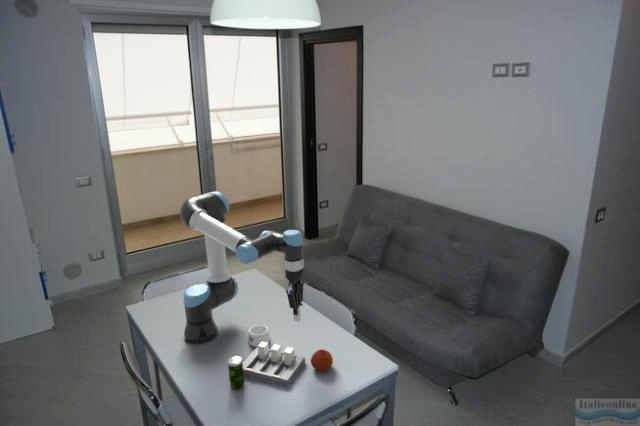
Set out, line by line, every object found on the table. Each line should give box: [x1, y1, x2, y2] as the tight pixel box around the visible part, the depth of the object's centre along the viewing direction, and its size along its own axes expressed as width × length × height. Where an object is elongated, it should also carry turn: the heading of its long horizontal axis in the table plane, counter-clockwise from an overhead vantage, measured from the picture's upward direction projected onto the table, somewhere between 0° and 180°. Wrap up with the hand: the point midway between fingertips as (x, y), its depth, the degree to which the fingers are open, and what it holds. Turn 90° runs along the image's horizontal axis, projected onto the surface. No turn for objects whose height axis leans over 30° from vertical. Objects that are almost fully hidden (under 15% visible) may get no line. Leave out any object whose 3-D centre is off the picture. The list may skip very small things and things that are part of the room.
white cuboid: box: [270, 343, 283, 363], centre depth 187 cm, size 3×4×6 cm
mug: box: [247, 324, 271, 348], centre depth 204 cm, size 12×10×6 cm
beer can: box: [227, 355, 245, 392], centre depth 173 cm, size 5×5×12 cm
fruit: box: [310, 348, 334, 372], centre depth 182 cm, size 9×9×8 cm
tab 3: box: [283, 346, 296, 366], centre depth 184 cm, size 3×4×6 cm
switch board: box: [242, 347, 306, 387], centre depth 184 cm, size 22×16×3 cm
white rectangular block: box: [258, 341, 270, 360], centre depth 189 cm, size 3×4×6 cm
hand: (297, 320), depth 188 cm, fingers closed
